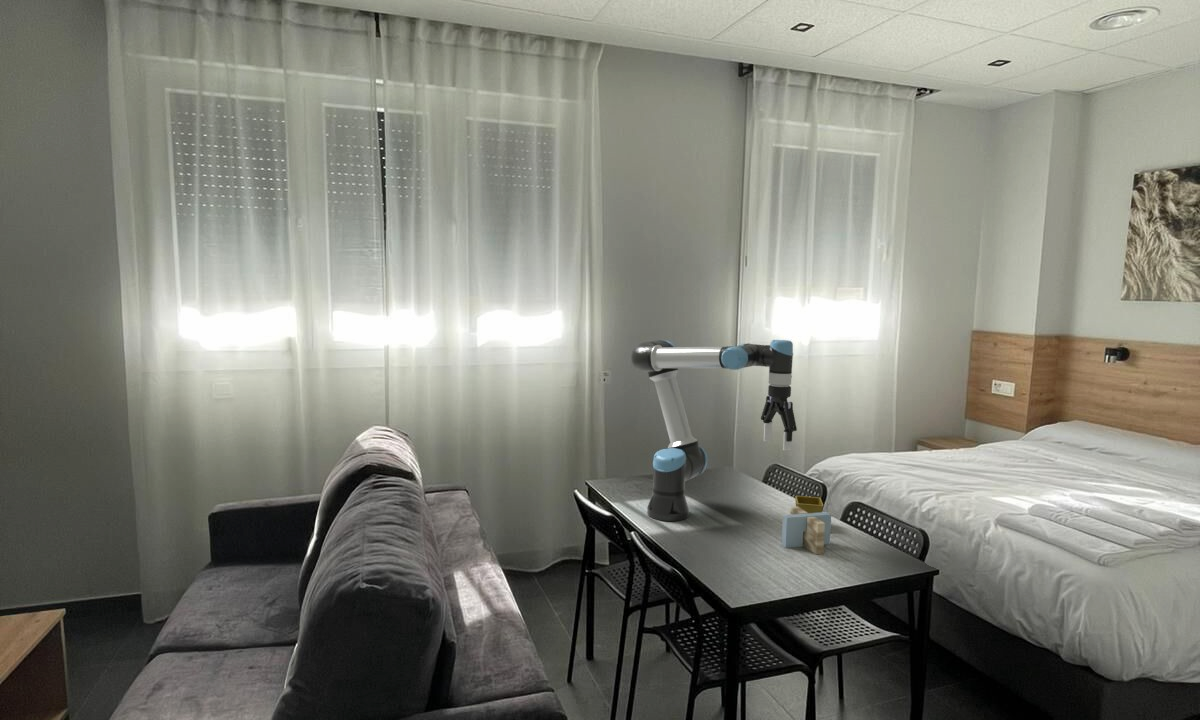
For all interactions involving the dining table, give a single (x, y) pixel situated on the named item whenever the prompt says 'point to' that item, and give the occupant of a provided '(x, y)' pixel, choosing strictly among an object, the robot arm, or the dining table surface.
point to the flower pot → (809, 504)
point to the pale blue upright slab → (802, 528)
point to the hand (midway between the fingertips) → (776, 445)
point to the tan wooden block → (812, 532)
